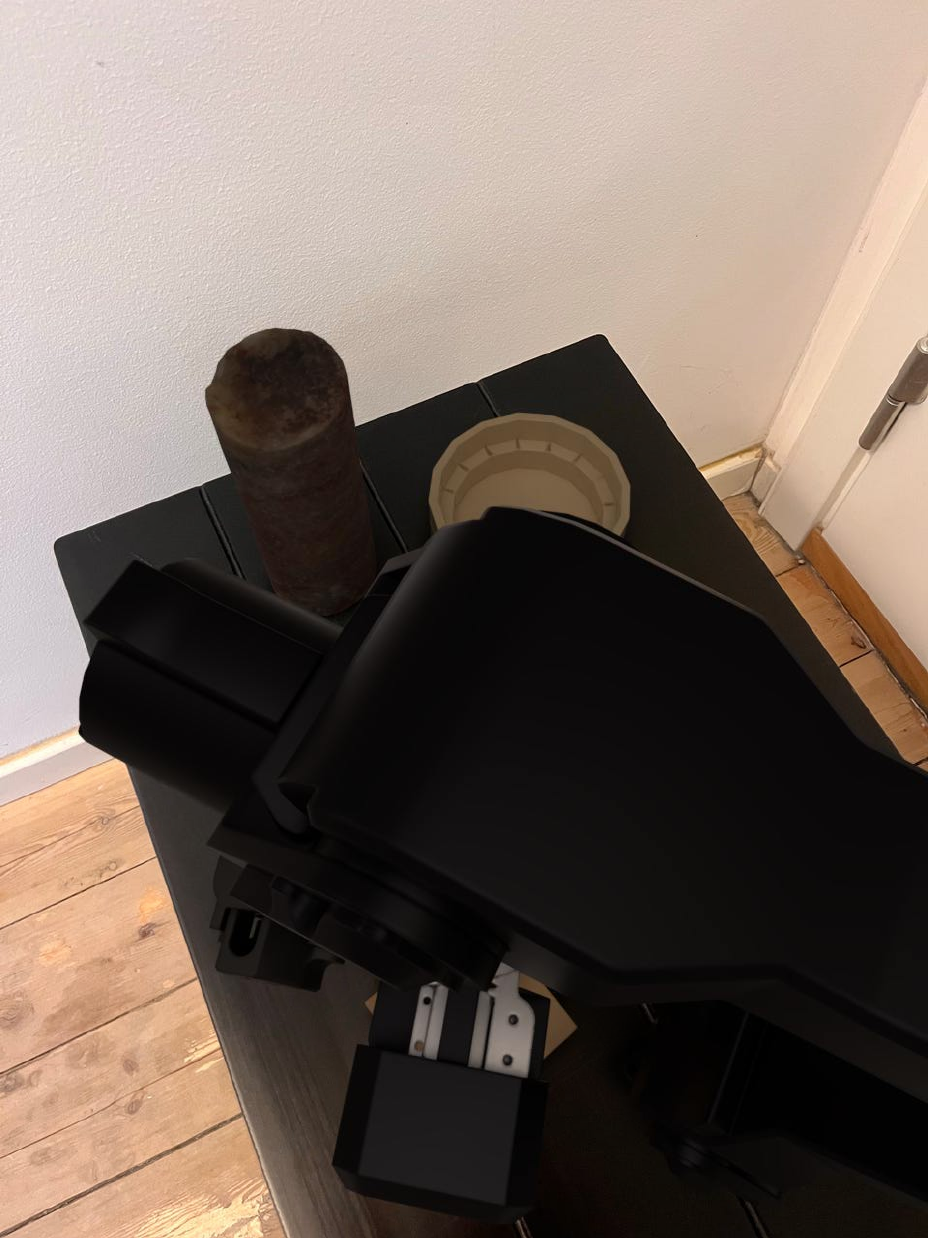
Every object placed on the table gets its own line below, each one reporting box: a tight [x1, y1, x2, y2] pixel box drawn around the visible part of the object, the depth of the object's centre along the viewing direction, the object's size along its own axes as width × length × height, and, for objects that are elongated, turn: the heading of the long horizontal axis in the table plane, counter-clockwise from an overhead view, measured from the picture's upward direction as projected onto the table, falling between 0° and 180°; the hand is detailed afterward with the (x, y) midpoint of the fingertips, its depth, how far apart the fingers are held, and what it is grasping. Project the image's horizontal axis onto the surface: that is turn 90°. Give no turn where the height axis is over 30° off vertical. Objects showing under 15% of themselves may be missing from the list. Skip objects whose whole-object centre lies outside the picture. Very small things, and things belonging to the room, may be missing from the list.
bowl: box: [428, 412, 631, 539], centre depth 60 cm, size 13×13×5 cm
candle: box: [204, 327, 377, 617], centre depth 52 cm, size 8×7×20 cm
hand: (478, 921), depth 38 cm, fingers closed on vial, 4 cm apart
